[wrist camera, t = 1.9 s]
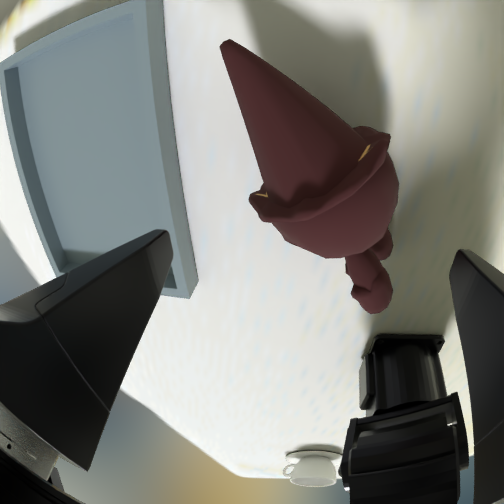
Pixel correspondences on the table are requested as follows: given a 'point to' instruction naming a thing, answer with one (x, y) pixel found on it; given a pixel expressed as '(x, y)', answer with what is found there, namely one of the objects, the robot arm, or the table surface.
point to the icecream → (318, 174)
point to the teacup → (313, 468)
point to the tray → (99, 138)
